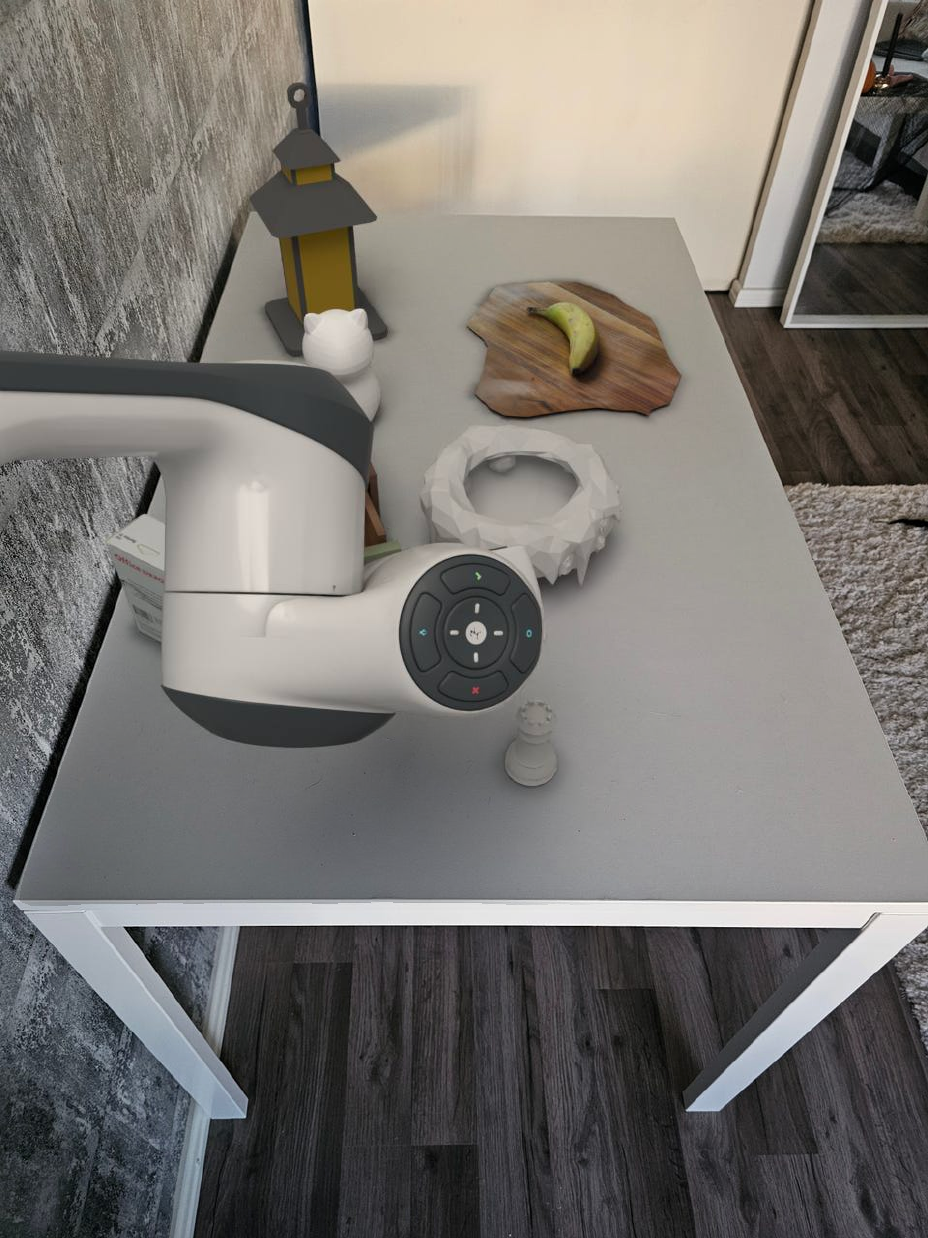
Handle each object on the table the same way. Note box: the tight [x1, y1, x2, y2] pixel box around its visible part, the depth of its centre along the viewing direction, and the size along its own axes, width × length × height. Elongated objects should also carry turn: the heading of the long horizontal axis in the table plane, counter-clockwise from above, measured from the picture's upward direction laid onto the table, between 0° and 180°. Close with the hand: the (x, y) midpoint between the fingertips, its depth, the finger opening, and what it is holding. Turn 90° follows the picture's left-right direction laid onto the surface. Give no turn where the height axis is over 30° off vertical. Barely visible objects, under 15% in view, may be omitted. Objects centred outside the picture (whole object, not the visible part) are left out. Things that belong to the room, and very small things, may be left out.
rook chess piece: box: [504, 698, 557, 787], centre depth 75 cm, size 4×4×8 cm
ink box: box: [105, 513, 174, 643], centre depth 83 cm, size 9×5×12 cm, turn 58°
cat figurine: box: [302, 309, 382, 423], centre depth 107 cm, size 9×12×15 cm
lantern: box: [248, 81, 388, 357], centre depth 116 cm, size 14×14×30 cm
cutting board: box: [466, 281, 682, 418], centre depth 122 cm, size 35×27×4 cm
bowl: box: [418, 424, 625, 587], centre depth 93 cm, size 21×20×10 cm
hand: (373, 622), depth 68 cm, fingers closed
